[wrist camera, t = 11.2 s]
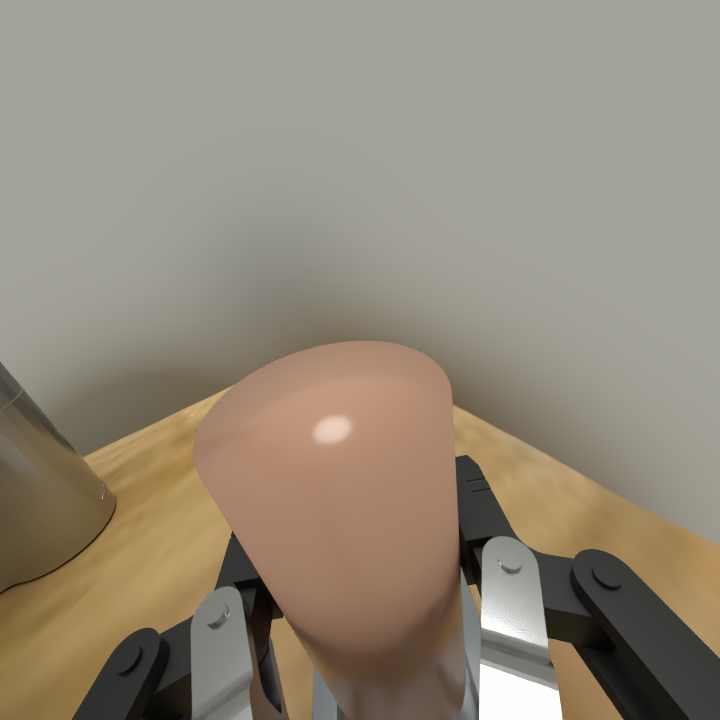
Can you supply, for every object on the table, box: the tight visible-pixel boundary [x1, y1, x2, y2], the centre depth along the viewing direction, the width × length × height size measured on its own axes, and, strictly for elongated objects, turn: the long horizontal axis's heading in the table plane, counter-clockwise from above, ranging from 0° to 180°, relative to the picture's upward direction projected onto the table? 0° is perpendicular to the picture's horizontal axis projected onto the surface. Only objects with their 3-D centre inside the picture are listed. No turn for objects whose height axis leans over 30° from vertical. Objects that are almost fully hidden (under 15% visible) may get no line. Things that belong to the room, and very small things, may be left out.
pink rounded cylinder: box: [193, 341, 466, 720], centre depth 10 cm, size 6×6×14 cm
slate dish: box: [312, 568, 481, 720], centre depth 16 cm, size 12×9×2 cm
